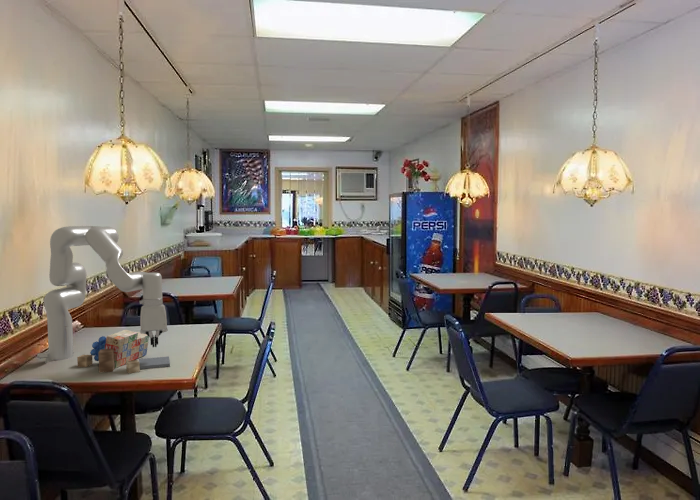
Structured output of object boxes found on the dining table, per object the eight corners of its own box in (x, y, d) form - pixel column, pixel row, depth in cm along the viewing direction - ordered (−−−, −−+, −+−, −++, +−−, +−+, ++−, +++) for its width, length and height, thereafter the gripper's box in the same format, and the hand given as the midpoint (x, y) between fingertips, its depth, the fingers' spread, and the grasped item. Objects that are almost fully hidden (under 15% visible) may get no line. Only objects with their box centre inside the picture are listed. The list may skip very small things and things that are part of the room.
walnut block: (99, 372, 213) (98, 352, 213) (101, 369, 218) (100, 349, 217) (112, 371, 215) (112, 351, 214) (114, 368, 219) (114, 348, 219)
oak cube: (77, 366, 222) (77, 357, 222) (83, 364, 226) (83, 354, 226) (86, 367, 221) (86, 357, 221) (92, 364, 225) (92, 354, 225)
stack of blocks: (134, 351, 241) (138, 324, 240) (146, 355, 240) (150, 328, 239) (102, 364, 220) (106, 335, 219) (115, 368, 219) (119, 339, 218)
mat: (138, 369, 218) (138, 366, 218) (139, 361, 229) (139, 358, 229) (170, 366, 222) (169, 363, 222) (169, 359, 233) (169, 356, 233)
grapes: (120, 360, 233) (124, 333, 231) (117, 365, 226) (122, 338, 225) (91, 357, 229) (95, 330, 228) (87, 363, 223) (91, 334, 222)
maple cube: (129, 373, 212) (128, 363, 212) (126, 371, 216) (126, 361, 215) (139, 371, 215) (139, 361, 214) (137, 369, 218) (136, 359, 218)
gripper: (133, 305, 218) (134, 350, 219) (172, 302, 223) (173, 346, 224) (133, 302, 225) (135, 346, 226) (171, 300, 230) (173, 342, 231)
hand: (154, 346), depth 225 cm, fingers closed
